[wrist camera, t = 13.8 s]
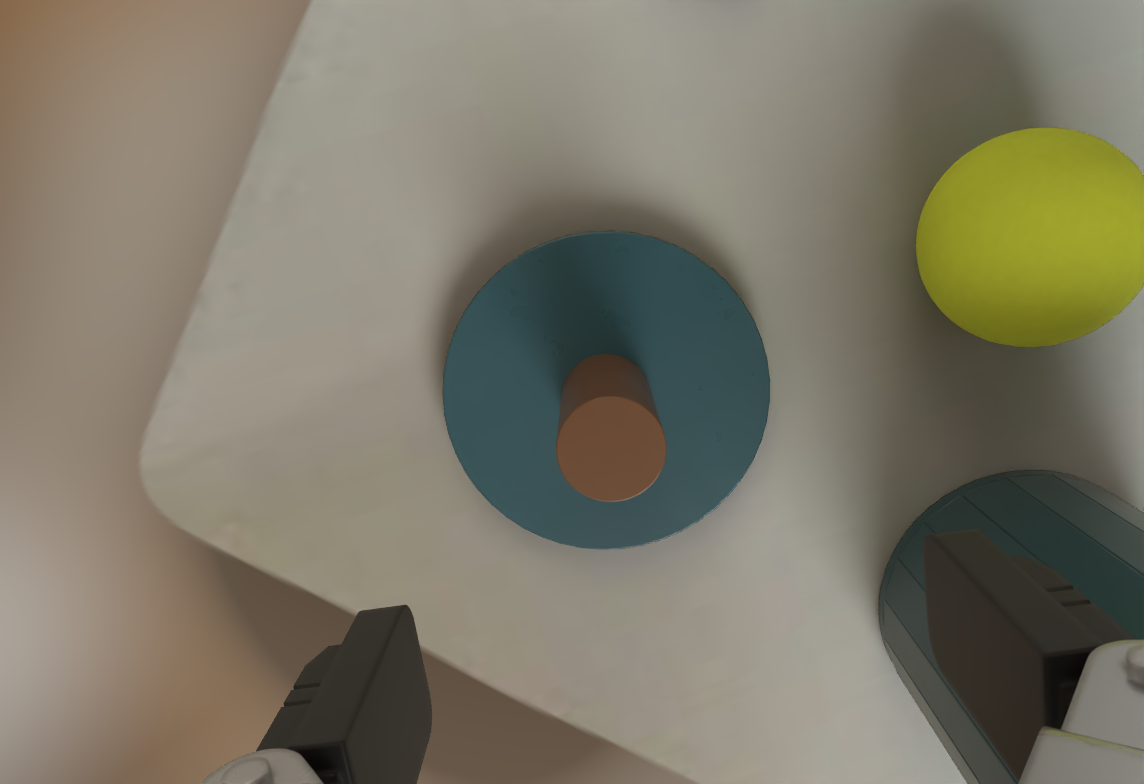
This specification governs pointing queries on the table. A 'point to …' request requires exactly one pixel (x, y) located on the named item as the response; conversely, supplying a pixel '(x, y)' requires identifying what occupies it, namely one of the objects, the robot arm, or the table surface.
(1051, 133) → the tennis ball
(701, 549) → the table surface
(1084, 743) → the robot arm
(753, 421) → the tube lid
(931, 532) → the tube
